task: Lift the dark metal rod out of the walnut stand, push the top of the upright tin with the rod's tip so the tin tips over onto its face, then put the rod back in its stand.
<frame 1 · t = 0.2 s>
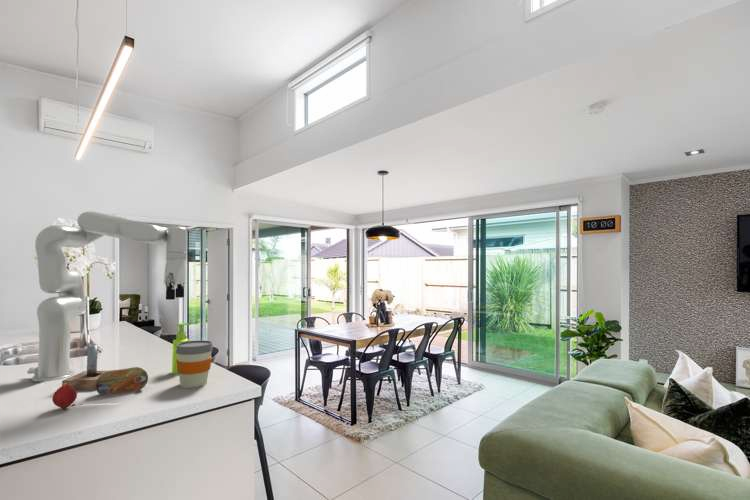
hand: (175, 298, 155), 31 cm above the worktop, tool pointing down, fingers open, 9 cm apart
reusable coffee cup: (193, 384, 142), on the worktop
tin: (122, 393, 131), on the worktop
rod stand: (91, 386, 138), on the worktop
metal rod: (91, 384, 138), point 1 cm above the worktop, touching rod stand
soap dispenser: (181, 371, 158), on the worktop
onion: (64, 409, 117), on the worktop
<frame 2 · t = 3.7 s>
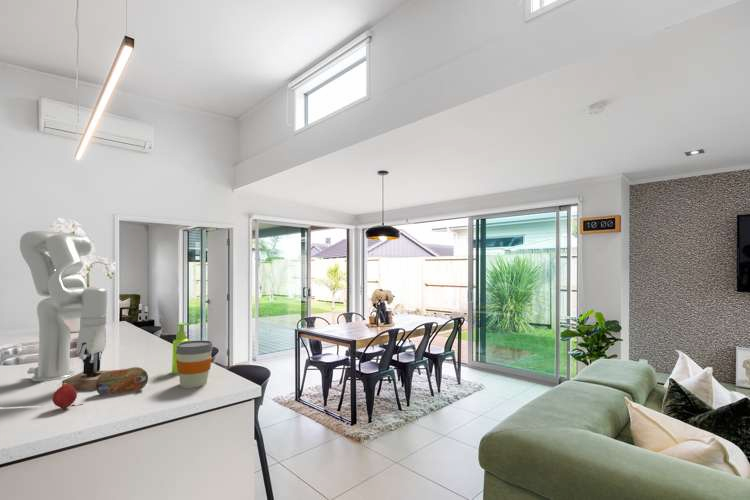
hand: (91, 371, 138), 5 cm above the worktop, tool pointing down, fingers closed on metal rod, 3 cm apart
metal rod: (91, 384, 138), point 1 cm above the worktop, touching gripper, rod stand
everything else where it was.
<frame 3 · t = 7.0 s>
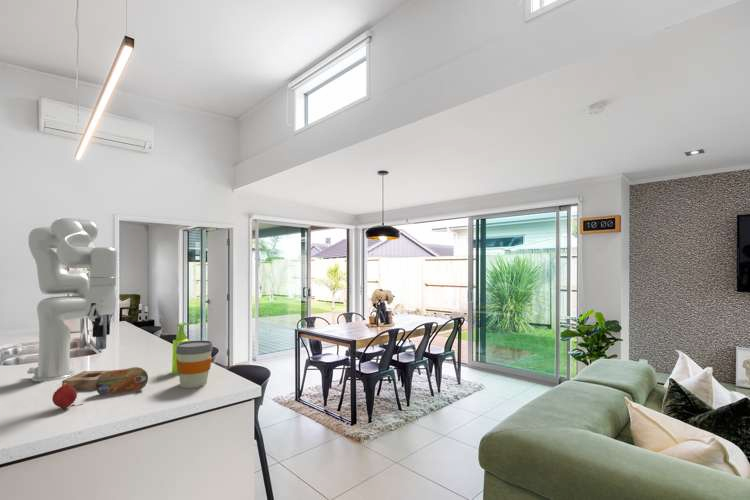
hand: (101, 335, 131), 20 cm above the worktop, tool pointing down, fingers closed on metal rod, 3 cm apart
metal rod: (100, 348, 131), point 15 cm above the worktop, touching gripper
everything else where it was.
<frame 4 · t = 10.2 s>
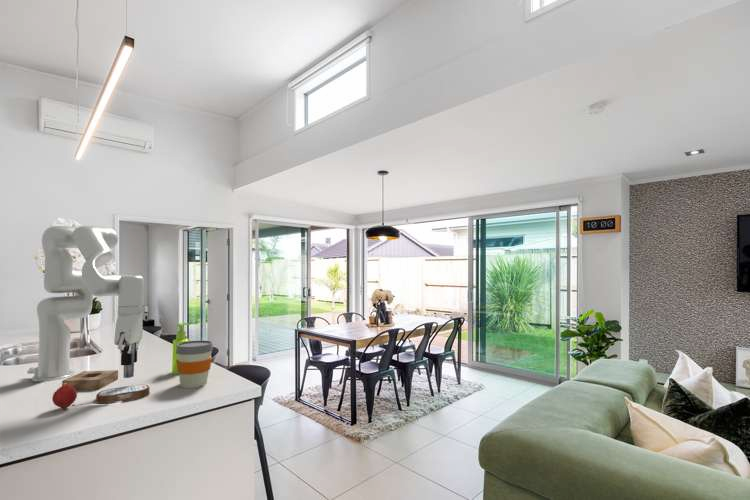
hand: (129, 363, 132), 10 cm above the worktop, tool pointing down, fingers closed on metal rod, 3 cm apart
tin: (122, 389, 130), point 2 cm above the worktop
metal rod: (128, 376, 132), point 6 cm above the worktop, touching gripper
everything else where it was.
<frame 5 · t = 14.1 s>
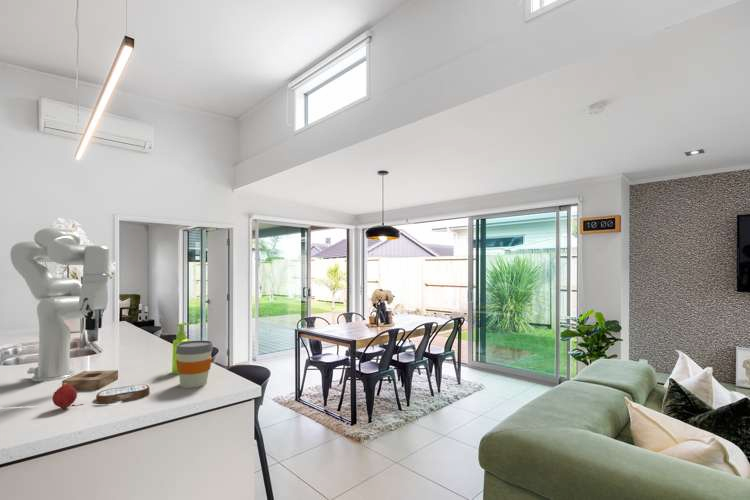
hand: (93, 328, 139), 21 cm above the worktop, tool pointing down, fingers closed on metal rod, 3 cm apart
metal rod: (92, 341, 139), point 16 cm above the worktop, touching gripper
everything else where it was.
when the fingers open (7 cm above the worktop, at t = 17.8 s): metal rod drops 1 cm, resting on rod stand.
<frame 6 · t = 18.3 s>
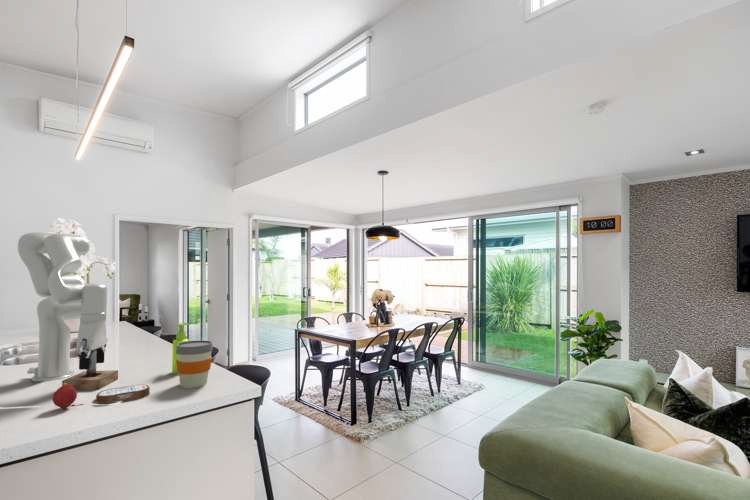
hand: (91, 365, 138), 7 cm above the worktop, tool pointing down, fingers open, 8 cm apart
metal rod: (91, 384, 138), point 1 cm above the worktop, touching rod stand
everything else where it was.
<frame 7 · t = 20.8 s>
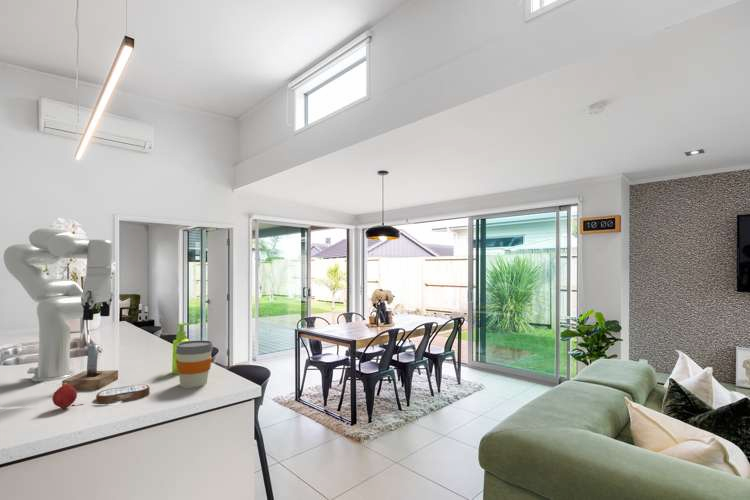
hand: (96, 318, 142), 24 cm above the worktop, tool pointing down, fingers open, 9 cm apart
nothing on the worktop moved.
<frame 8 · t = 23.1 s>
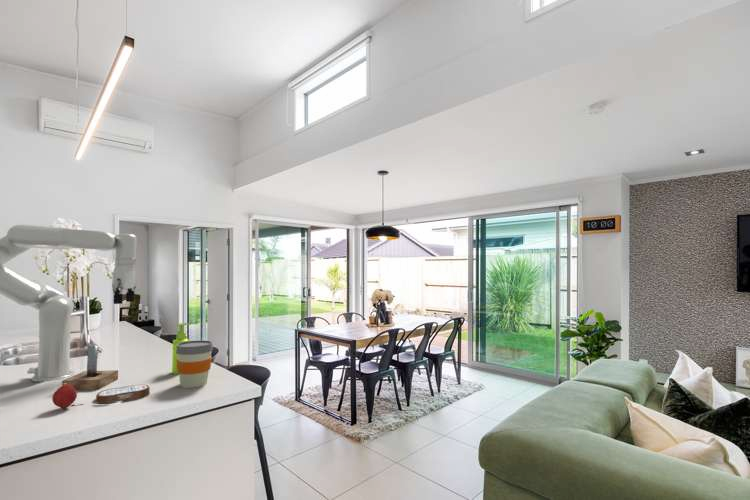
hand: (124, 302, 162), 28 cm above the worktop, tool pointing down, fingers open, 9 cm apart
nothing on the worktop moved.
at the end: tin tilted 94°; metal rod 0.0 cm off-centre on the rod stand, point 0.6 cm above the rod stand's base; the gripper is holding nothing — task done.
